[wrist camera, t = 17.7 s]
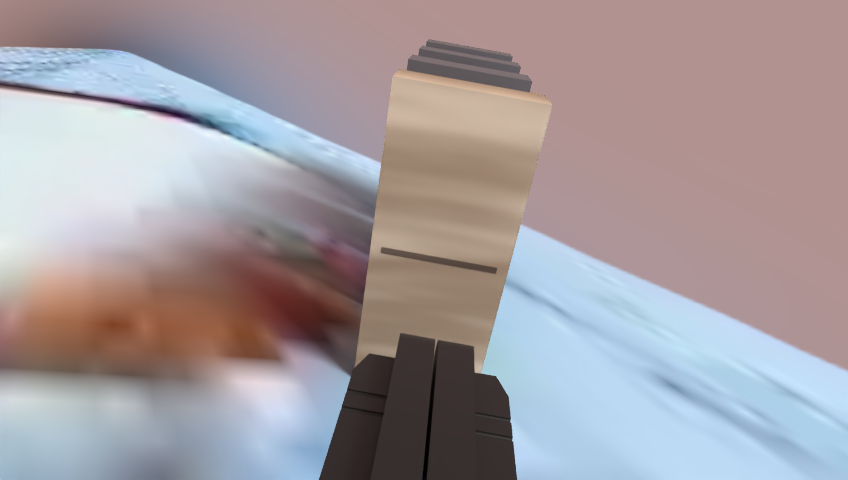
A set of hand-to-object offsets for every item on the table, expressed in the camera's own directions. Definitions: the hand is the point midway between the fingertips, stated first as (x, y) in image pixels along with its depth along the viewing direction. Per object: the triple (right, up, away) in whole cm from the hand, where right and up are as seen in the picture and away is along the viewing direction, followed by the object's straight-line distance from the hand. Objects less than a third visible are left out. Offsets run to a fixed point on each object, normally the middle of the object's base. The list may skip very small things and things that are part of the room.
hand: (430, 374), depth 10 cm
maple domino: (-1, -3, +11) cm, 12 cm away
